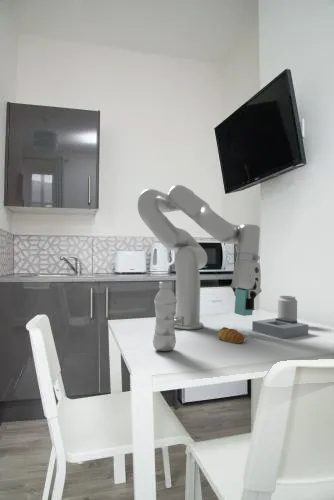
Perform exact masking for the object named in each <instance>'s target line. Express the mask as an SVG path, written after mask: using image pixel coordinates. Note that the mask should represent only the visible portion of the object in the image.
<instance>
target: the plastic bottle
mask: <svg viewBox="0 0 334 500" xmlns="http://www.w3.org/2000/svg"><path fill="white" fill-rule="evenodd" d="M158 284H159V285H158V288H159V290H158V292H157V293H156V294H155V297H154V301H153V302H154V311H155V326H154V334H153V339H152V344H153V348H154V349H155V350H156V351H160V352H170V351H173V350H174V349H175V347H176V344H177V339H176V334H175V327H174V318H175V314H176V303H177V299H176V293H174V292H173V281H167V280H165V281H164V280H163V281H159V282H158Z"/></svg>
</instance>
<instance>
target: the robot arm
mask: <svg viewBox="0 0 334 500" xmlns="http://www.w3.org/2000/svg"><path fill="white" fill-rule="evenodd" d="M137 211H138V215H139V217H140V218H141V220H142V222H144V224H145V225H146V226H147V228H148V229H149V230H150V231H151V232H152V234H153V235H154V236H155V238H157V240H158V241H159V242H160V243H161V244H162V245H163V247H164V248H165V249H167V250H168V251H175V252H176V253H175V256H174V267H175V268H174V269H175V278H176V279H175V296H176V299H177V303H176V309H175V318H174V329H178V330H179V329H180V330H200V329H203V328H204V322H201V320H200V319H201V318H200V317H201V316H200V315H201V276H200V269H203V268H204V267H205V266H206V265H207V263H208V255H207V252H206V250H205V249H204V248H203V247H202V246H201V244H200V243H199V242H197V240H196V238H194V237H193V236H192V235H191V234H190V233H189V232H188V231H186V229H183V228H179V227H176V226H175V224H173V223H172V222H171V221H170V220H169V218H168V217H167V216H166V215H165V214H166V213H170V212H179V211H181V212H182V213H183V214H185V215H186V216H187V217H189V218H190V219H191V220H192V221H194V222H195V224H196V225H198V226H199V227H200V228H201V230H202V229H203V231H205V232H206V233H207V234H208V235H210V236H211V237H212V238H214V239H215V240H217V241H218V242H220V243H225V244H228V245H229V244H232V245H233V244H237V248H236V249H237V252H236V260H235V263H234V267H233V271H232V273H233V274H232V281H231V284H230V285H229V287H230V288H231V290H232V291H233V293H234V296H235V298H234V300H235V299H236V289H245V290H247V296H248V298H246V310H251V309H253V310H254V299H256V297H257V296H258V295H259V294H260V293H262V287H261V284H262V283H261V282H262V281H261V279H262V276H261V275H262V274H261V264H260V262H258V261H259V260H260V259H261V258H260V255H259V252H260V251H259V249H260V235H261V229H260V225H257V224H251V223H249V224H248V223H246V224H245V223H243V224H241V225H237V224H233V223H231V222H229V221H227V220H225V218H223V217H221V216H220V215H219V214H218V213H216V212H215V211H214V210H213V209H212V208H211V207H210V205H209V203H208V202H206V201H205V200H203V199H202V198H201V197H200V196H198V195H197V194H195V192H194V191H193V190H191V189H190V188H188V187H186V186H184V185H182V184H176V185H173V186H171V188H170V189H169V191H168V192H166V193H164V192H162V191H159V190H157V189H154V188H153V189H152V188H148V189H144V190H143V191H142V192H141V193H140V194H139V196H138V200H137ZM164 213H165V214H164Z"/></svg>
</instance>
